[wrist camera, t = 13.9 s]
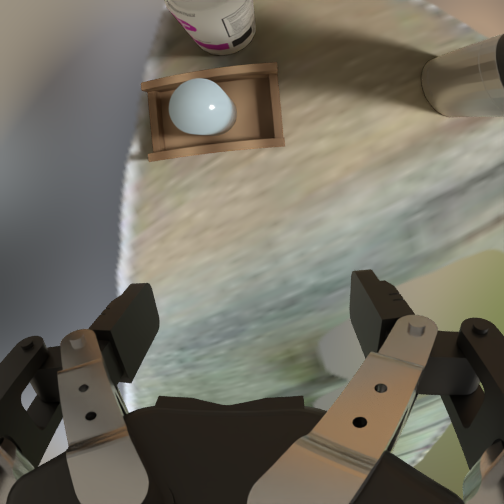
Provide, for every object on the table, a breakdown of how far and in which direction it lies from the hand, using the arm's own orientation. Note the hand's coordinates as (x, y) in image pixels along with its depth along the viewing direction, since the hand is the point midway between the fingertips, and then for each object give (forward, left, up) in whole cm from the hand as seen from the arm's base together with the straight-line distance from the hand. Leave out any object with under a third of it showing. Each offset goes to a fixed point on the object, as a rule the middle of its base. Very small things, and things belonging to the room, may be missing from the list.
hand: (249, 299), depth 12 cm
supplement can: (+3, -22, -30) cm, 38 cm away
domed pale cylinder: (+5, -10, -29) cm, 31 cm away
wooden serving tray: (+5, -10, -30) cm, 32 cm away
